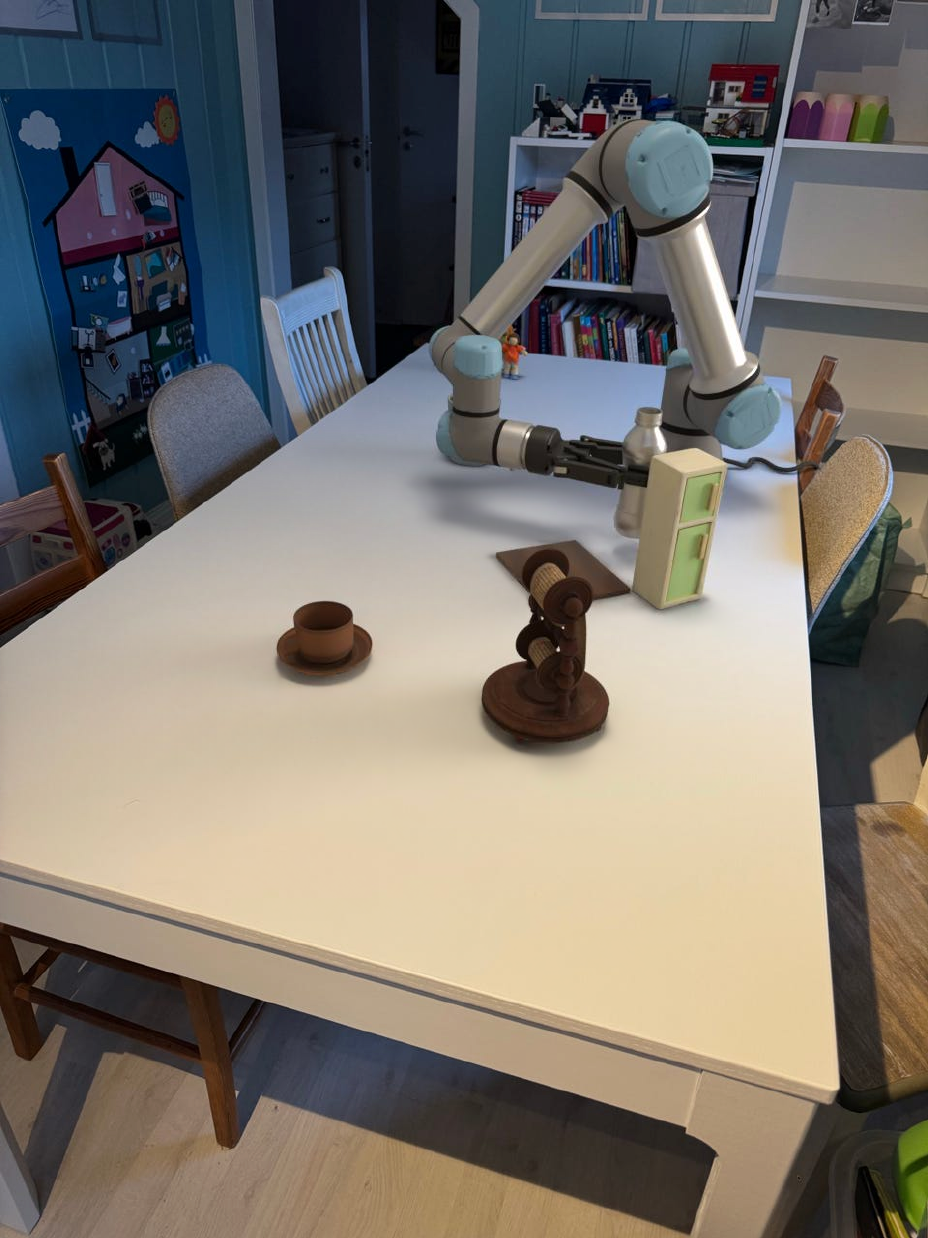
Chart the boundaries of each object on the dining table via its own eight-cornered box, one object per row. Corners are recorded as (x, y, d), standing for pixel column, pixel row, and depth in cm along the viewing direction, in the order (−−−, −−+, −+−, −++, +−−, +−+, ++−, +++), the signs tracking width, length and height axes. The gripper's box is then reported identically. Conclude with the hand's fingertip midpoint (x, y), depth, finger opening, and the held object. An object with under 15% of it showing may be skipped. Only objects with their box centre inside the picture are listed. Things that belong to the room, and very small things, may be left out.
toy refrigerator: (661, 613, 125) (685, 473, 114) (630, 590, 130) (650, 454, 119) (705, 601, 128) (732, 464, 117) (672, 579, 133) (696, 446, 122)
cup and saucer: (332, 695, 105) (329, 652, 102) (257, 663, 111) (252, 621, 107) (391, 650, 114) (391, 609, 111) (319, 622, 119) (317, 582, 116)
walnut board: (574, 544, 143) (575, 539, 142) (630, 593, 129) (630, 588, 129) (495, 556, 138) (495, 552, 137) (544, 609, 124) (545, 604, 124)
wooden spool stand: (627, 741, 100) (653, 587, 89) (504, 763, 96) (516, 604, 86) (577, 669, 112) (594, 526, 101) (465, 686, 108) (471, 538, 98)
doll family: (442, 373, 224) (443, 319, 217) (448, 363, 232) (450, 311, 225) (525, 380, 221) (528, 326, 214) (529, 369, 229) (532, 317, 222)
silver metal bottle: (654, 545, 136) (673, 419, 125) (610, 540, 137) (625, 415, 126) (655, 528, 141) (673, 405, 131) (612, 523, 142) (627, 401, 132)
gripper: (549, 451, 149) (686, 476, 141) (506, 491, 134) (656, 521, 126) (553, 408, 145) (693, 431, 137) (509, 444, 130) (664, 472, 122)
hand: (675, 474), depth 132 cm, fingers closed on silver metal bottle, 6 cm apart
